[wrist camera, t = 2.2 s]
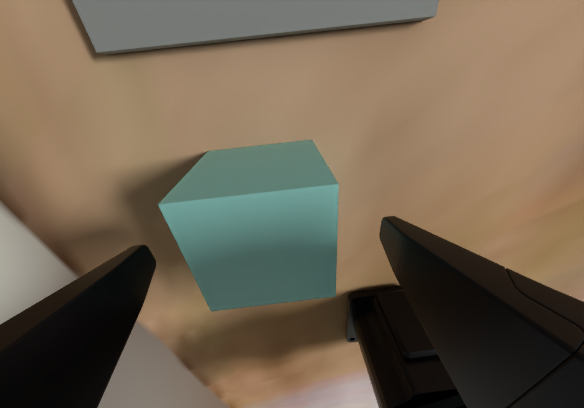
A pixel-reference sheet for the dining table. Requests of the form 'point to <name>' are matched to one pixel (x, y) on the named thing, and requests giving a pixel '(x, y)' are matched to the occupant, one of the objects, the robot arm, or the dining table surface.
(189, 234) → the teal block
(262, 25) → the gray mat
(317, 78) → the dining table surface
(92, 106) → the dining table surface
